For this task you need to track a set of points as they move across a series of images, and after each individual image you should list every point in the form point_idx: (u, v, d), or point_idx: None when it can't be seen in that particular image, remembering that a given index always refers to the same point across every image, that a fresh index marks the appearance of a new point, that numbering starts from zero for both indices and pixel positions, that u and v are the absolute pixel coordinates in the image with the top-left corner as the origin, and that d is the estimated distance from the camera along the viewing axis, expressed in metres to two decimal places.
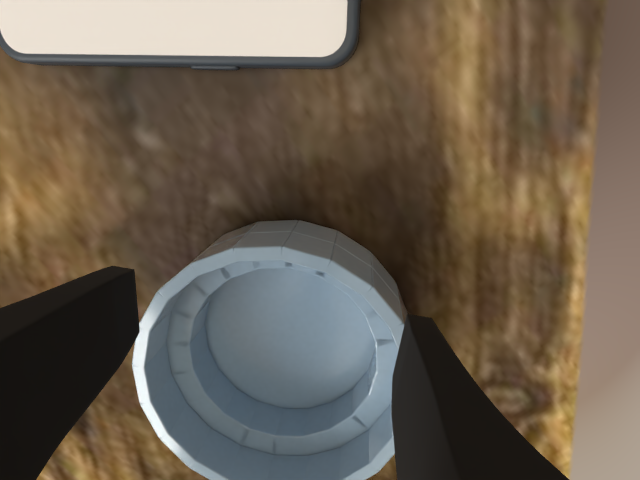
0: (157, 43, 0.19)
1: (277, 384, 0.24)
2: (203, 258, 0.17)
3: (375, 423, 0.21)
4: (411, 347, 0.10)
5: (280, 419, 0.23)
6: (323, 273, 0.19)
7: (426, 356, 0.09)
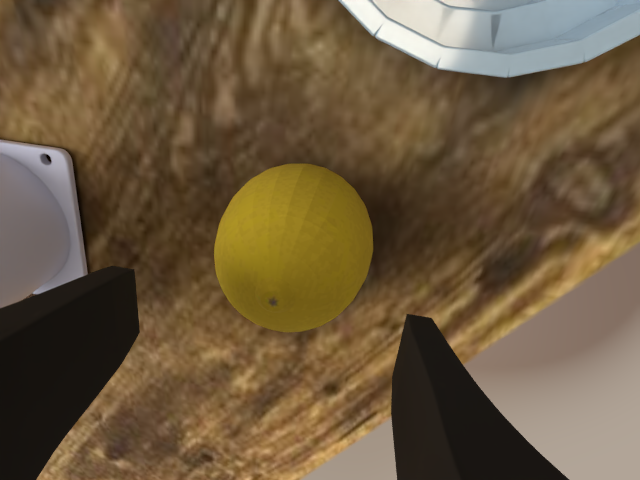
0: None
1: None
2: None
3: (513, 47, 0.13)
4: (411, 347, 0.10)
5: None
6: None
7: (426, 356, 0.09)
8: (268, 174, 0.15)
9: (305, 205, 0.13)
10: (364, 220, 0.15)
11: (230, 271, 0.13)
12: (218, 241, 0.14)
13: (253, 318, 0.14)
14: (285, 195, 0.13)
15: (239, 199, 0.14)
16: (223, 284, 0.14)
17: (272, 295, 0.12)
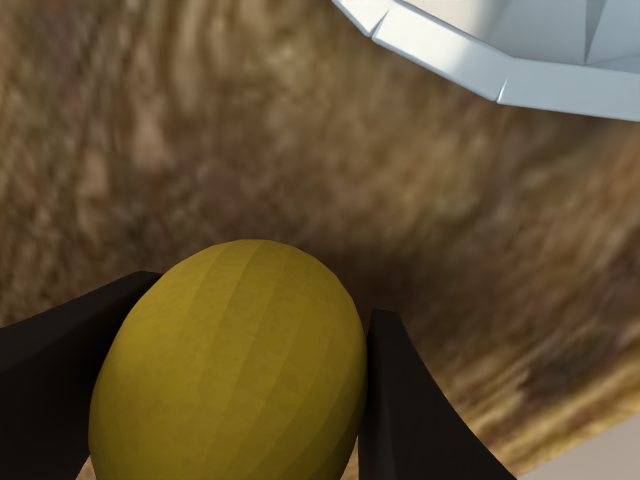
0: None
1: None
2: None
3: (626, 57, 0.07)
4: (373, 341, 0.10)
5: None
6: None
7: (384, 349, 0.09)
8: (189, 272, 0.09)
9: (240, 351, 0.07)
10: (352, 352, 0.09)
11: (101, 474, 0.07)
12: (91, 402, 0.08)
13: None
14: (205, 329, 0.07)
15: (132, 323, 0.08)
16: None
17: None
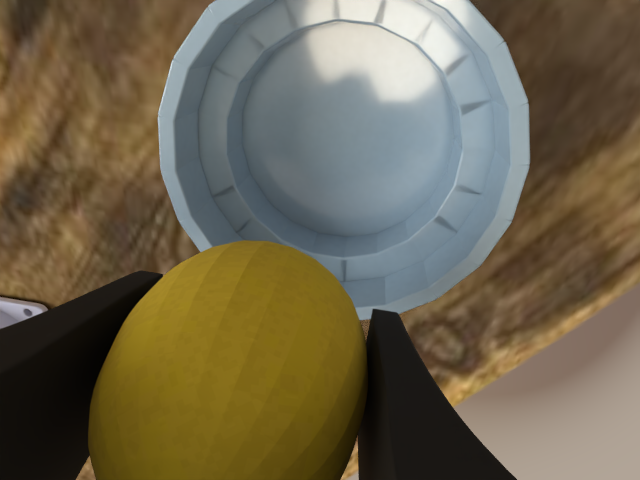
0: None
1: (284, 174, 0.20)
2: None
3: (357, 281, 0.19)
4: (373, 341, 0.10)
5: (263, 207, 0.19)
6: (467, 111, 0.15)
7: (384, 349, 0.09)
8: (189, 273, 0.09)
9: (239, 353, 0.07)
10: (352, 353, 0.09)
11: (101, 475, 0.07)
12: (91, 403, 0.08)
13: None
14: (205, 331, 0.07)
15: (132, 325, 0.08)
16: None
17: None
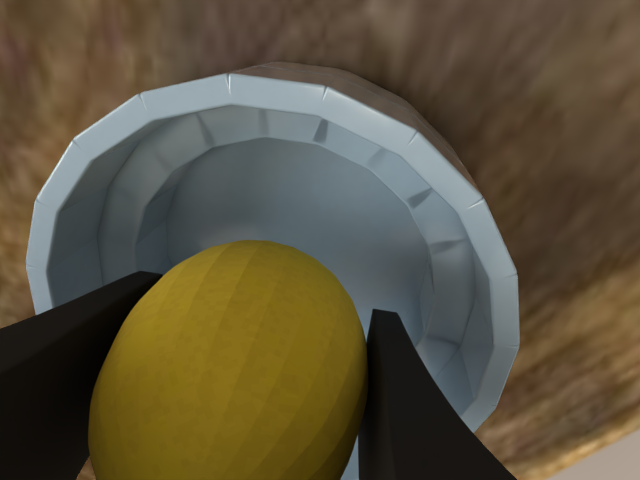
0: None
1: None
2: (354, 99, 0.08)
3: None
4: (373, 340, 0.10)
5: None
6: (439, 251, 0.12)
7: (384, 349, 0.09)
8: (189, 273, 0.09)
9: (240, 352, 0.07)
10: (352, 353, 0.09)
11: (101, 475, 0.07)
12: (91, 403, 0.08)
13: None
14: (205, 331, 0.07)
15: (132, 324, 0.08)
16: None
17: None
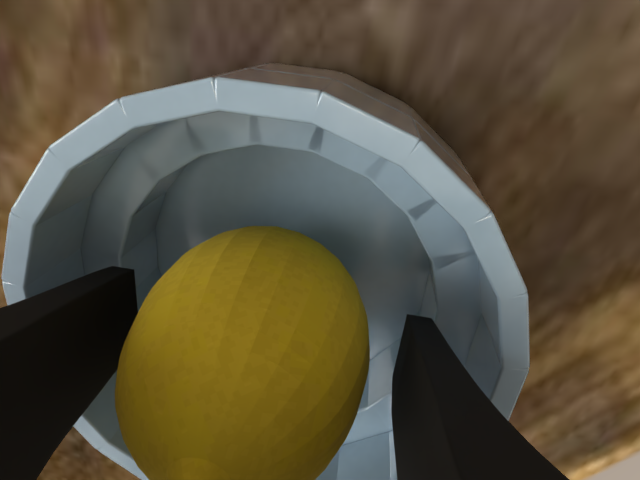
0: None
1: None
2: (351, 105, 0.08)
3: None
4: (411, 347, 0.10)
5: None
6: (443, 265, 0.11)
7: (426, 356, 0.09)
8: (205, 253, 0.09)
9: (254, 321, 0.08)
10: (355, 326, 0.09)
11: (129, 432, 0.08)
12: (117, 370, 0.09)
13: None
14: (223, 302, 0.08)
15: (154, 299, 0.09)
16: None
17: None
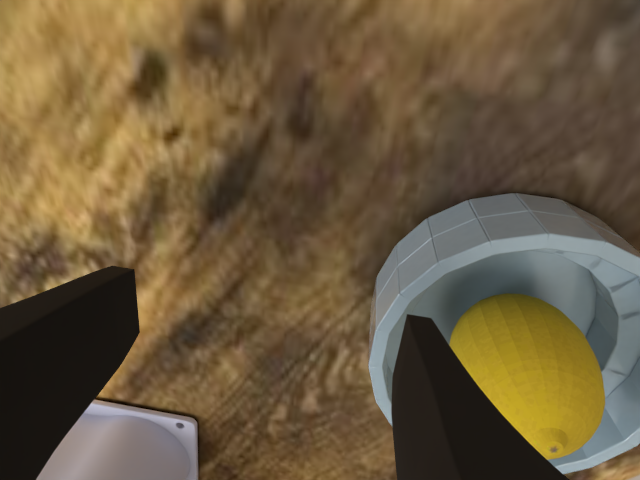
0: None
1: None
2: (620, 248, 0.15)
3: None
4: (411, 347, 0.10)
5: None
6: (626, 318, 0.18)
7: (426, 356, 0.09)
8: (510, 317, 0.17)
9: (568, 358, 0.15)
10: (596, 358, 0.17)
11: (503, 415, 0.15)
12: (480, 383, 0.16)
13: None
14: (548, 348, 0.15)
15: (494, 344, 0.16)
16: None
17: (555, 445, 0.14)
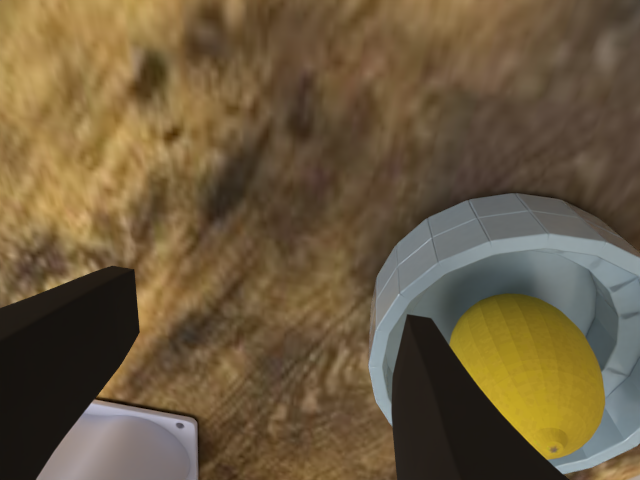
0: None
1: None
2: (620, 248, 0.15)
3: None
4: (411, 347, 0.10)
5: None
6: (626, 318, 0.18)
7: (426, 356, 0.09)
8: (510, 317, 0.17)
9: (568, 358, 0.15)
10: (596, 358, 0.17)
11: (503, 415, 0.15)
12: (480, 383, 0.16)
13: None
14: (547, 348, 0.15)
15: (494, 344, 0.16)
16: None
17: (555, 445, 0.14)
